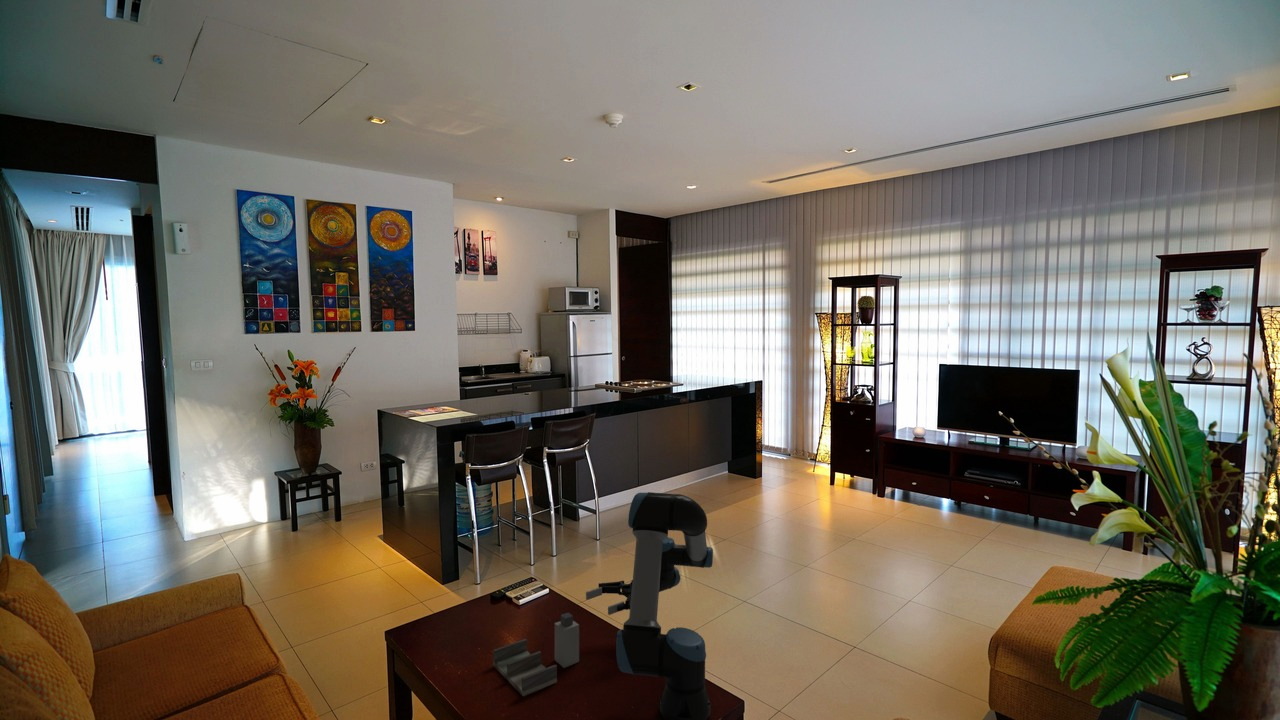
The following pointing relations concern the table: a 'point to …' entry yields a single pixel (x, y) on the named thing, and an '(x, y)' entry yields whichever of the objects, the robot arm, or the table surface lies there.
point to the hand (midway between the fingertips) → (597, 603)
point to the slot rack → (523, 668)
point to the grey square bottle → (566, 641)
